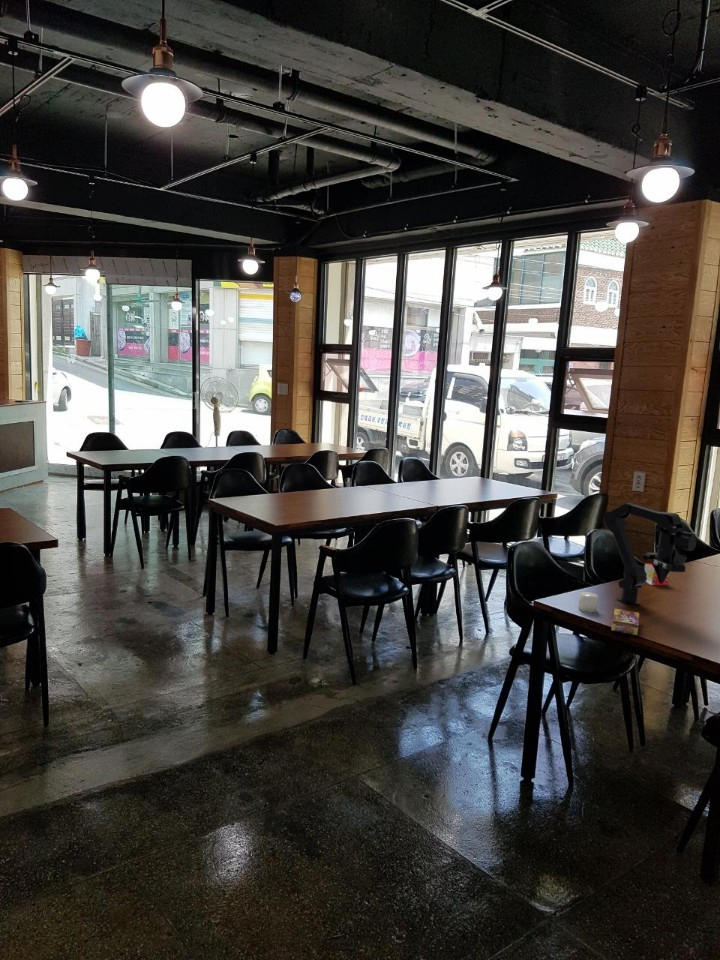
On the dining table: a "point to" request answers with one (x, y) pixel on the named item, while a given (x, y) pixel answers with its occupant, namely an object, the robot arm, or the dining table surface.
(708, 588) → the dining table surface
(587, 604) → the marshmallow
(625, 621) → the candy box
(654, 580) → the puzzle cube
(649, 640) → the dining table surface
